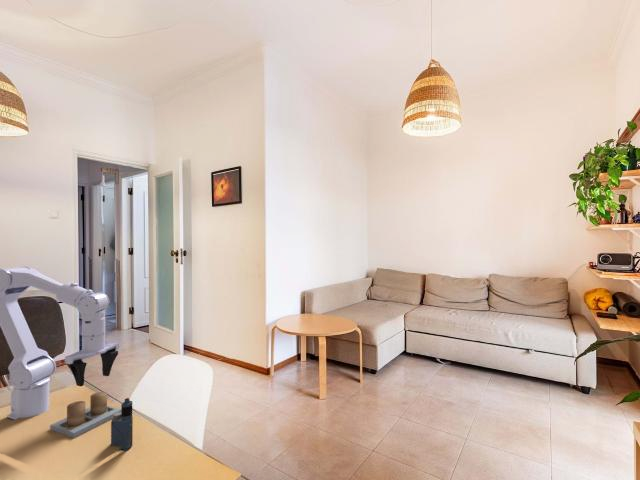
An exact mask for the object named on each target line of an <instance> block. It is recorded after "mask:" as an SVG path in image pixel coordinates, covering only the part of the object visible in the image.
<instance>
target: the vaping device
mask: <svg viewBox="0 0 640 480" xmlns="http://www.w3.org/2000/svg"><path fill="white" fill-rule="evenodd" d="M120 407H121V408H120V409H121V412H117V413H114V414H113V418H112V419H111V423H110V445H111V447H112V446H114V447H119V449H118V451H123V452H124V451H125V452H126V451H128V450H129V449H131V448H132V446H133V424H134V423H133V422H134V421H133V419H134V417H133V401H132V400H130V398H129V397H128V398H125V399H124V401H123V402H122V403H121V406H120Z"/></svg>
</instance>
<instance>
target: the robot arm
mask: <svg viewBox="0 0 640 480" xmlns="http://www.w3.org/2000/svg"><path fill="white" fill-rule="evenodd" d="M30 287H32V288H35V289H38V290H41V291H44V292H47V293H50V294H52V295H55V297H56V300H57V301H59V302H61V303H64V304H65V305H69V306H71V307H73V308H76V309H77V311H78V312H79V314H80V319H81V322H82V323H81V324H82V325H81V350H78V351H76V352H74V353H72V354H68V355H65V356H64V363H65V364H66V365H67V367H68V368H69V370H70V372H71V373H72V375H73V377H74V380H75V384H76V386H78V387H83V386H84V384H85V373H86V367H87V364H88V363H87V362H84V360H85V359H89V358H92V357H94V356H97V355H98V356H99V355H100V358H101V365H102V366H101V367H102V369H101V370H102V376H104V377H109V376H111V371H112V367H113V364H114V362H115V360H116V358H117V357H118V355H119V351H118V350H119V349H120V343H119V342H115V341H114V342H110V343H106V310H107V309H108V308H109V306H110V303H111V301H110V297H109V296H108V295H107V294H106V293H104V292H102V291H98V292H94V290H92V289H87V288H84V287H82V286H80V285H79V283H78V282H67V283H61V282H59V281H57V280H55V279H53V278H51V277H49V276H46V275H44V274H43V273H41V272H39V271H38V270H37V269H34V268H31V267H29V266H20V267H12V268H11V267H9V268H0V329H1V331H2V334H3V335H4V337H5V340H6V343H7V344H8V347H9V349H10V351H11V354H12V356H13V359H12V361H10V364H9V365H8V367H7V370H8V372H9V382H10V384H11V386H12V387H13V389H12V391H11V393H10V413H9V414H7V415H6V417H7V418H9V419H12V420H17V419H20V418H21V419H26V418H32V417H35V416H38V415H42V414H44V413H45V412H47V411H48V410H49V409H50V380H51V379H52V375H53V374H55V372H56V369H57V364H56V361H55V359H54V358H52V357H51V356H50V355H49V353H48V351H47V350H44V349H41V348H39V347H38V345H37V343H36V341H35V338H34V336H33V334H32V332H31V330H30V328H29V325H28V323H27V321H26V318H25V316H24V314H23V312H22V310H21V307H20V305H19V302H18V300H19V298H20V296H22V295H23V294H24V293H25V292H26V291H27V290H28V289H29V288H30Z"/></svg>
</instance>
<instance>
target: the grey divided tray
mask: <svg viewBox="0 0 640 480" xmlns="http://www.w3.org/2000/svg"><path fill="white" fill-rule="evenodd" d="M107 410H108V412H107V413H105V414H103V415H101V416H99V417H97V418H93V417H90V406H89V407H87V408H85V420H86V423H84V424H82V425H80V426H78V427H76V428H74V429H72V430H71V429H68V428H66V425H67V417H65V418H63V419H60V420H58V421H56V422H54V423H51V424H50V425H49V429H50V431H53V432H56V433H59V434H62V435H64V436H67V437H70V438H72V439H73V438H74V439H75V438H78V437H79V436H82V434H85V433H87V432H89V431H91V430H92V429H95V428H97V427H98V426H101V425H102V424H105V423H106V422H108V421H110V420H111V421H112V418H113V414H114V413H117V412H121V408H118V407H116V406H115V407H114V406H110V405H108V404H107Z"/></svg>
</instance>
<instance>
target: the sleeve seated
mask: <svg viewBox="0 0 640 480" xmlns="http://www.w3.org/2000/svg"><path fill="white" fill-rule="evenodd" d="M89 401H90V404H89V407H90V417H93V418H97V417H99V416H101V415H103V414H105V413H107V412H108V410H107V405H108V392H107V391H98V392H95V393H93V394H91V395H90V399H89Z"/></svg>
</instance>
